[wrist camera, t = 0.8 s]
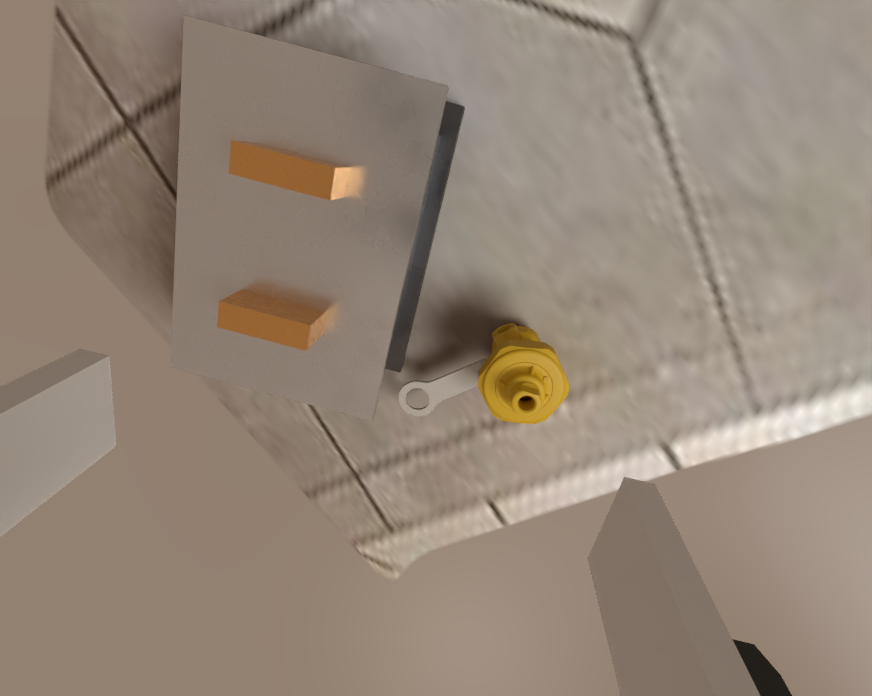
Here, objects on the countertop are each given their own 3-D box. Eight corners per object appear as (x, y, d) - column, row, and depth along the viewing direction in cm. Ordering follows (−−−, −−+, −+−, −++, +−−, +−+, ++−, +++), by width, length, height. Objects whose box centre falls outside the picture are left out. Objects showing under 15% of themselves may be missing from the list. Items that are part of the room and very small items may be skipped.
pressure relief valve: (560, 360, 36) (587, 427, 27) (422, 415, 39) (403, 494, 30) (532, 296, 35) (550, 345, 26) (390, 359, 38) (359, 423, 28)
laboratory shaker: (255, 52, 31) (138, -5, 20) (464, 108, 31) (454, 79, 20) (232, 321, 38) (135, 382, 27) (402, 367, 38) (370, 445, 27)
